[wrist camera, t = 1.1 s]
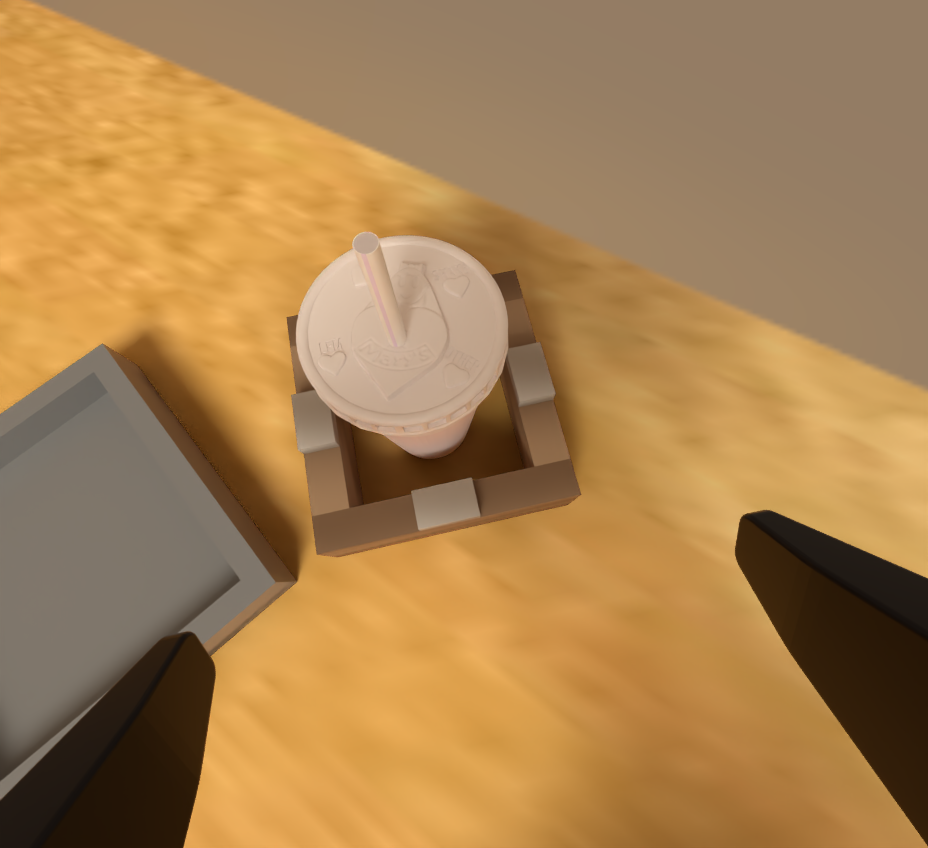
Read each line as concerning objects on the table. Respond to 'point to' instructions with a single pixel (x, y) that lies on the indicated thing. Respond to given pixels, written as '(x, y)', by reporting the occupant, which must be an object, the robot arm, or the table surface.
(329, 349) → the smoothie
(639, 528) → the table surface
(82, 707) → the tray
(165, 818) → the robot arm
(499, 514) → the clip collar
